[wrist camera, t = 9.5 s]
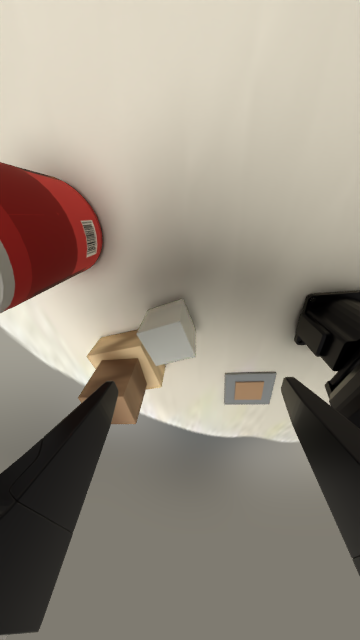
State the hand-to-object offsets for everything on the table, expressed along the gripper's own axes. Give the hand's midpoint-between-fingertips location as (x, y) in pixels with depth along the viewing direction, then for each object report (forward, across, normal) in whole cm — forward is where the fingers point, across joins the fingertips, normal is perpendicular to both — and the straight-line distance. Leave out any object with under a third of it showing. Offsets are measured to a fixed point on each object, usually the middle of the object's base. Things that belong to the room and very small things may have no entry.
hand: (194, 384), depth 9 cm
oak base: (+12, +9, +8) cm, 17 cm away
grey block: (+12, +3, +3) cm, 13 cm away
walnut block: (+8, +9, +8) cm, 15 cm away
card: (+12, -7, +16) cm, 21 cm away
